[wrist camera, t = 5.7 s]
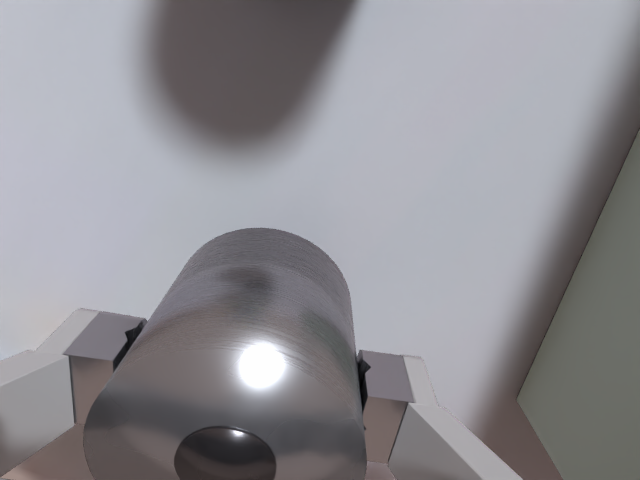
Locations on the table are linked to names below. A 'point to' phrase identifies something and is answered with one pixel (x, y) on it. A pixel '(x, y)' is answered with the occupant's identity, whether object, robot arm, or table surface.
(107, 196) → the table surface
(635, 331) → the scale
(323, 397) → the spacer
